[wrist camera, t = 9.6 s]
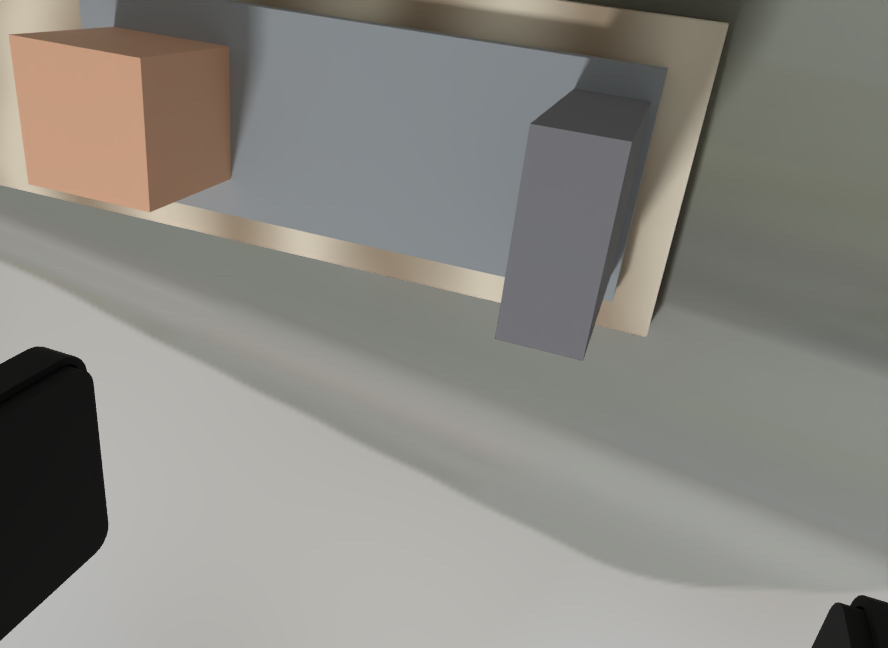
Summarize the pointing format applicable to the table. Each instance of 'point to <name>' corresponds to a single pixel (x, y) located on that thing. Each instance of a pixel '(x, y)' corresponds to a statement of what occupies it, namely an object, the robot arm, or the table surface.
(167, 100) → the cube
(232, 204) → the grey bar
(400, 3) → the board
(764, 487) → the table surface
